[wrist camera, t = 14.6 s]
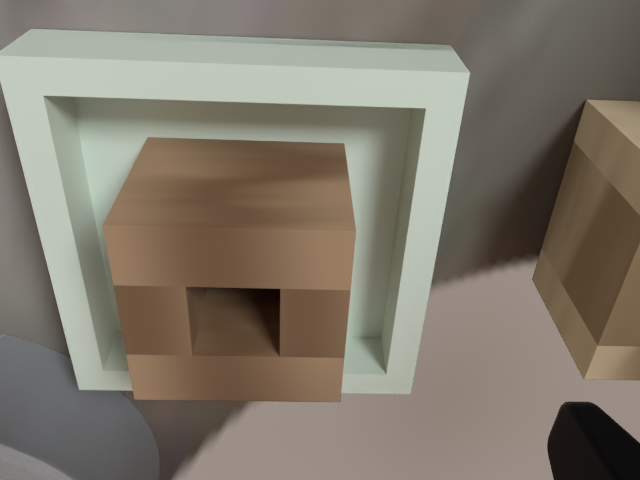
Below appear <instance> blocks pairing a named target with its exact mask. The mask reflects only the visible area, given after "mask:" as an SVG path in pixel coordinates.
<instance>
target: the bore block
mask: <svg viewBox="0 0 640 480" xmlns="http://www.w3.org/2000/svg"><path fill="white" fill-rule="evenodd" d="M533 282H534V284H535V286H536V288H537V290H538V292H539V294H540V295H541V298H542V299H543V301H544V303H545V305H546V307H547V309H548V311H549V313H550V315H551V317H552V319H553V320H554V322H555V324H556V327H557V328H558V330H559V332H560V334H561V336H562V338H563V340H564V342H565V344H566V346H567V348H568V350H569V352H570V353H571V355H572V357H573V359H574V361H575V363H576V365H577V367H578V369H579V371H580V373H581V375H582V377H583V379H585V380H640V101H613V100H586V102H585V106H584V109H583V112H582V115H581V119H580V122H579V125H578V129H577V132H576V135H575V139H574V142H573V145H572V149H571V152H570V155H569V159H568V162H567V165H566V169H565V172H564V175H563V179H562V182H561V185H560V189H559V192H558V195H557V199H556V202H555V205H554V209H553V212H552V215H551V219H550V222H549V225H548V229H547V232H546V235H545V239H544V242H543V245H542V249H541V252H540V255H539V259H538V262H537V265H536V269H535V272H534V275H533Z"/></svg>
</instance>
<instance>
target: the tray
mask: <svg viewBox="0 0 640 480" xmlns="http://www.w3.org/2000/svg"><path fill="white" fill-rule="evenodd" d="M469 75H470V72H469V71H468V69H467V68H466V67H465V65H464V64H463V62H462V61H461V59H460V58H459V57H458V55H457V54H456V52H455V51H454V50H453V48H452V47H451V45H436V44H410V43H384V42H358V41H332V40H306V39H280V38H254V37H228V36H202V35H176V34H150V33H124V32H98V31H72V30H46V29H31V30H29V31H28V32H26V33H25V34H24V35H22V36H21V37H19V38H18V39H16V40H15V41H14V42H12V43H11V44H9V45H8V46H6V47H5V48H4V49H2V50H1V51H0V82H1V86H2V90H3V94H4V97H5V101H6V105H7V109H8V113H9V117H10V121H11V125H12V129H13V133H14V137H15V141H16V145H17V148H18V152H19V156H20V160H21V164H22V168H23V172H24V176H25V180H26V184H27V188H28V192H29V196H30V199H31V203H32V207H33V211H34V215H35V219H36V223H37V227H38V231H39V235H40V239H41V243H42V247H43V250H44V254H45V258H46V262H47V266H48V270H49V274H50V278H51V282H52V286H53V290H54V294H55V297H56V301H57V305H58V309H59V313H60V317H61V321H62V325H63V329H64V333H65V337H66V341H67V345H68V348H69V352H70V356H71V360H72V364H73V368H74V372H75V376H76V380H77V384H78V388H79V390H121V391H133V390H132V384H131V379H130V373H129V368H128V362H127V357H126V351H125V346H124V340H123V335H122V330H121V324H120V319H119V313H118V308H117V302H116V297H115V291H114V286H113V280H112V275H111V270H110V264H109V259H108V253H107V248H106V242H105V237H104V231H103V226H102V225H103V223H104V221H105V219H106V217H107V215H108V213H109V211H110V209H111V207H112V205H113V203H114V201H115V199H116V198H117V196H118V194H119V192H120V190H121V188H122V186H123V184H124V182H125V180H126V178H127V176H128V174H129V172H130V171H131V169H132V167H133V165H134V163H135V161H136V159H137V157H138V155H139V153H140V151H141V149H142V147H143V146H144V144H145V142H146V140H147V138H148V137H158V138H190V139H222V140H253V141H285V142H316V143H344V144H345V152H346V159H347V167H348V174H349V182H350V189H351V196H352V204H353V211H354V219H355V226H356V239H355V249H354V260H353V271H352V282H351V292H350V303H349V314H348V325H347V336H346V346H345V357H344V368H343V379H342V389H341V393H357V394H411V390H412V384H413V379H414V373H415V368H416V362H417V357H418V351H419V346H420V340H421V335H422V330H423V324H424V319H425V313H426V308H427V303H428V298H429V292H430V287H431V281H432V276H433V270H434V265H435V260H436V254H437V249H438V243H439V238H440V233H441V227H442V222H443V216H444V211H445V205H446V200H447V195H448V189H449V184H450V178H451V173H452V168H453V162H454V157H455V151H456V146H457V140H458V135H459V130H460V124H461V119H462V113H463V108H464V102H465V97H466V92H467V86H468V81H469Z"/></svg>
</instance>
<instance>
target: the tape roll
mask: <svg viewBox="0 0 640 480" xmlns="http://www.w3.org/2000/svg"><path fill="white" fill-rule="evenodd" d="M159 471H160V458H159V451H158V446H157V443H156V440H155V438H154V435H153V433H152V431H151V429H150V427H149V425H148V424H147V422H146V420H145V419H144V417H143V416H142V415H141V413H140V412H139V411H138V409H137V408H136V407H135V406H134V405H133V403H132V402H131V401H130V400H129V399H128V398H127V397H126V396H125V395H124V394H122V393H121V392H120V391H119V390H79V388H78V384H77V380H76V376H75V372H74V368H73V364H72V360H71V358H69V357H67V356H65V355H63V354H61V353H59V352H56V351H54V350H52V349H49V348H47V347H44V346H42V345H39V344H36V343H33V342H30V341H27V340H24V339H20V338H17V337H13V336H9V335H4V334H0V480H158V478H159Z"/></svg>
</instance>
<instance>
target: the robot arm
mask: <svg viewBox="0 0 640 480" xmlns="http://www.w3.org/2000/svg"><path fill="white" fill-rule="evenodd" d="M547 448H548V455H549V460H550V464H551V469H552V473H553V478H554V480H640V443H639V442H638V441H637V440H636V439H635V438H633V437H632V436H631V435H630V434H629V433H628V432H627V431H625V430H624V429H623V428H622V427H621V426H620V425H619V424H617V423H616V422H615V421H614V420H613V419H612V418H611V417H610V416H608V415H607V414H606V413H605V412H604V411H603V410H602V409H601V408H599V407H598V406H597V405H595V404H593V403H590V402H565V403H564V404H563V405H561V407H560V409H559V412H558V415H557V417H556V420H555V422H554V425H553V427H552V430H551V432H550V435H549V438H548V447H547Z"/></svg>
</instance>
